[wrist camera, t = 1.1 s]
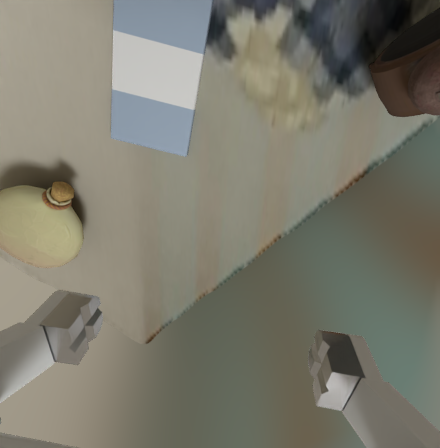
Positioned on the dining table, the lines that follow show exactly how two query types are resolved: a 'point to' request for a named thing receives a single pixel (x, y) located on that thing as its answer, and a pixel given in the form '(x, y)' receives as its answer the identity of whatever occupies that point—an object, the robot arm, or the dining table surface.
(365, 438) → the robot arm
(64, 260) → the flask
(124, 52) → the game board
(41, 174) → the dining table surface
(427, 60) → the alarm clock
